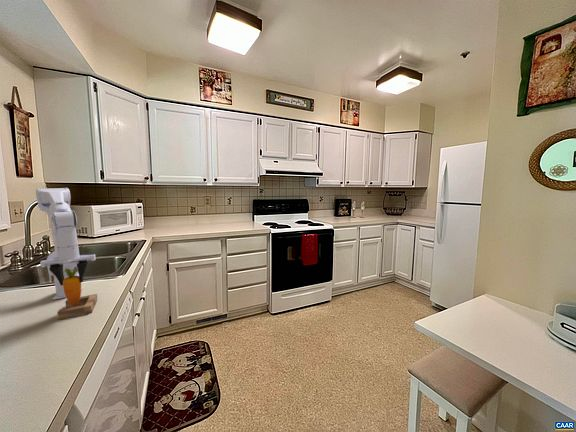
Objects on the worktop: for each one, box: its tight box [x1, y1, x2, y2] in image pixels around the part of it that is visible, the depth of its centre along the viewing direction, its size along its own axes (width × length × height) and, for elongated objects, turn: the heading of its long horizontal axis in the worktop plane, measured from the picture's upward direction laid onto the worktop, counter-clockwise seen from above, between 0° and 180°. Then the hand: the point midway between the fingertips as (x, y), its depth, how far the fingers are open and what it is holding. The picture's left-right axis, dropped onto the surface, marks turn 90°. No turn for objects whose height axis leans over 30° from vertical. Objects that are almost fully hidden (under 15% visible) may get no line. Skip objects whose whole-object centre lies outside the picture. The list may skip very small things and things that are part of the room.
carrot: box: [63, 267, 82, 307], centre depth 88 cm, size 5×5×15 cm
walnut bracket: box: [57, 293, 99, 320], centre depth 90 cm, size 11×9×2 cm
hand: (72, 282), depth 88 cm, fingers closed on carrot, 5 cm apart
